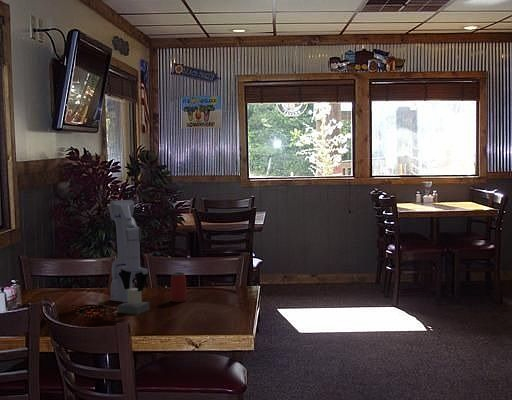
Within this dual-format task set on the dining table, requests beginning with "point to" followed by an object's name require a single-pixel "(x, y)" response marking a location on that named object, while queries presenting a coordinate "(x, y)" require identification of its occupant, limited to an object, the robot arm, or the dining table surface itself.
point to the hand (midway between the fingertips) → (133, 289)
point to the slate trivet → (134, 308)
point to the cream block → (134, 296)
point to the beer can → (178, 287)
